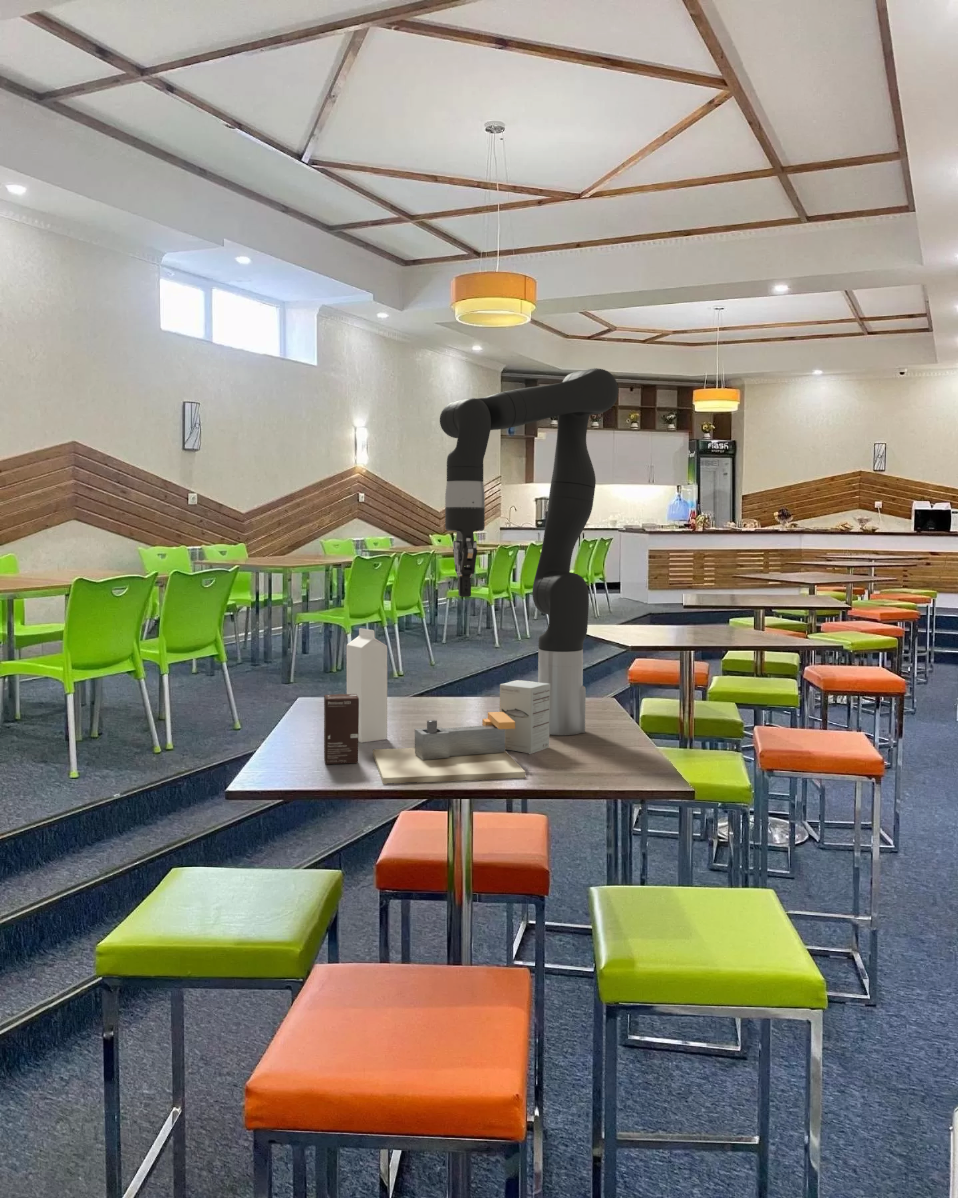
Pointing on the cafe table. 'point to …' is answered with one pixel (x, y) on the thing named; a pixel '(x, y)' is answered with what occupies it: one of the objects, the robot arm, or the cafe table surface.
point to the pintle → (432, 728)
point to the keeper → (499, 720)
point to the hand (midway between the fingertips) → (464, 596)
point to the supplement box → (526, 715)
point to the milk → (368, 684)
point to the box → (341, 728)
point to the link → (459, 741)
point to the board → (443, 767)
